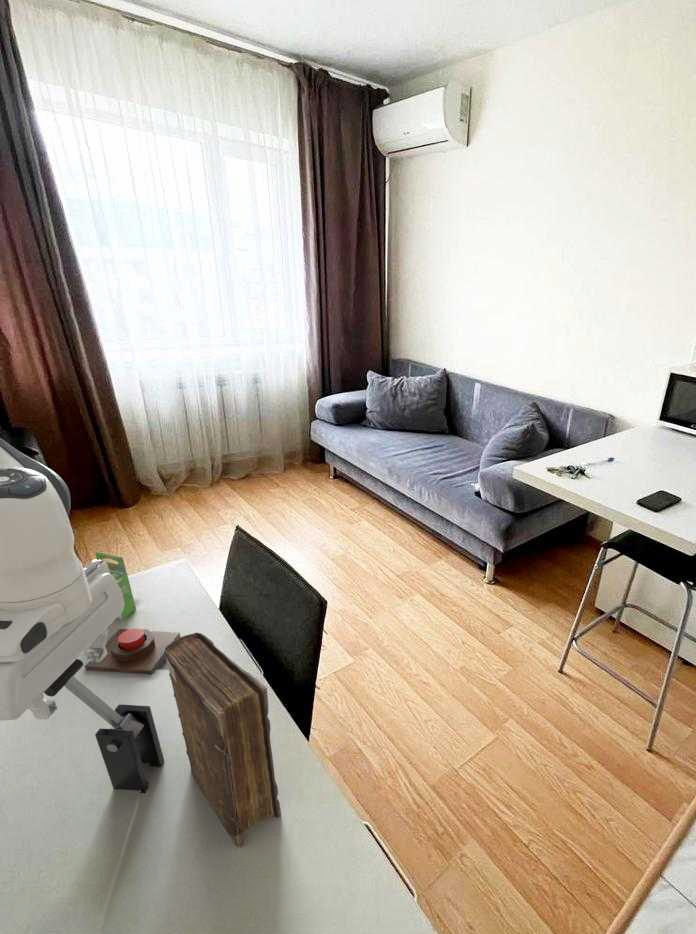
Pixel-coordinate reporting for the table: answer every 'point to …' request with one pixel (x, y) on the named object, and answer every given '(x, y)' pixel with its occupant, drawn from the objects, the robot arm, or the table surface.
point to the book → (224, 732)
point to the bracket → (130, 750)
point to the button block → (135, 654)
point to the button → (131, 639)
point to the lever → (92, 700)
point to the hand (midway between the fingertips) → (74, 684)
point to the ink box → (120, 582)
